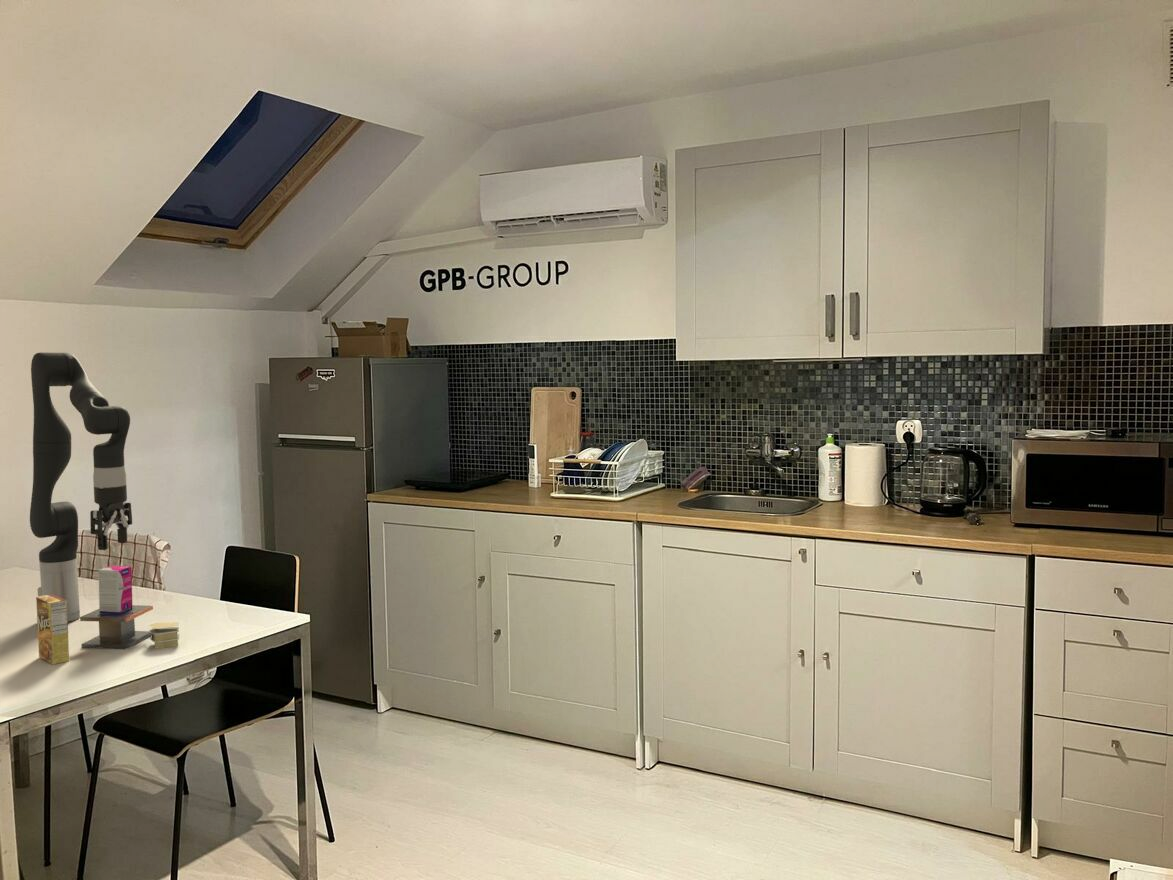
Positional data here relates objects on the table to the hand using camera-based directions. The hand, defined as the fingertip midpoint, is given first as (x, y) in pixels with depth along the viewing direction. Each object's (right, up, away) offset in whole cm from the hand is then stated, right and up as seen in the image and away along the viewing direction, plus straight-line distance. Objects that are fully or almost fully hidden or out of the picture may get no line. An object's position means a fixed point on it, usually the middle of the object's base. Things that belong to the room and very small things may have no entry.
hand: (112, 546), depth 244 cm
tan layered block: (+14, -26, 0) cm, 29 cm away
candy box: (-8, -27, -12) cm, 30 cm away
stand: (0, -25, +2) cm, 25 cm away
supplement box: (0, -17, +2) cm, 17 cm away
